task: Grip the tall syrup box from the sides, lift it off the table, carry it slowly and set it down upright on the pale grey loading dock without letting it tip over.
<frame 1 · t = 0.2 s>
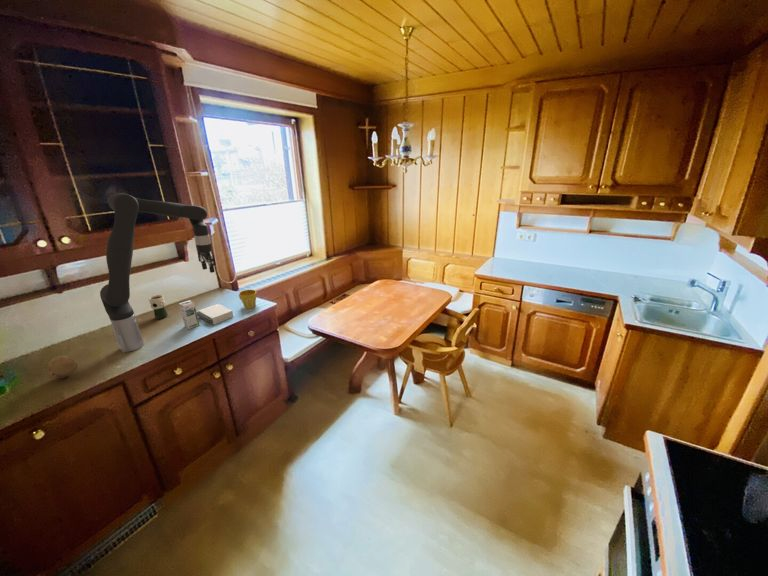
hand: (208, 270, 179), 28 cm above the countertop, fingers open, 8 cm apart
plant pot: (249, 306, 202), on the countertop
character mug: (161, 317, 187), on the countertop
natural sponge: (67, 376, 136), on the countertop
syrup box: (192, 326, 178), on the countertop
dock: (216, 316, 188), on the countertop
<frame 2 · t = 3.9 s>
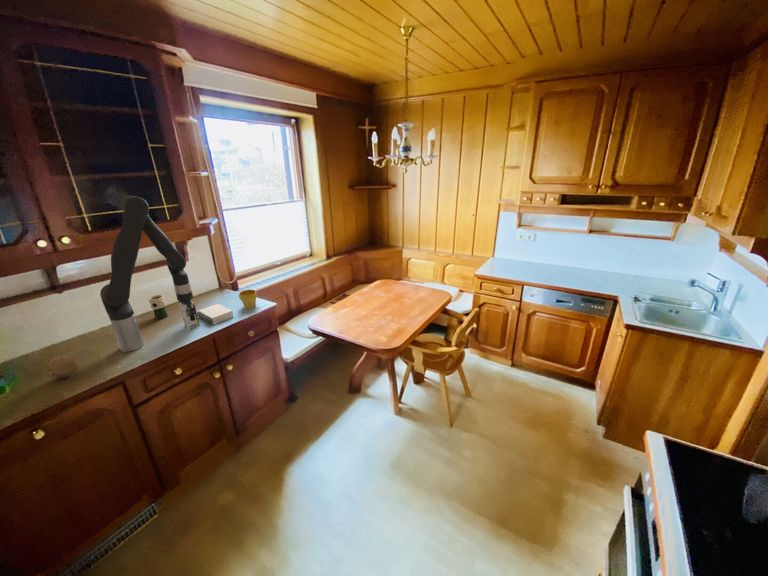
hand: (190, 318, 176), 5 cm above the countertop, fingers closed on syrup box, 6 cm apart
syrup box: (192, 326, 178), on the countertop, touching gripper
everything else where it was.
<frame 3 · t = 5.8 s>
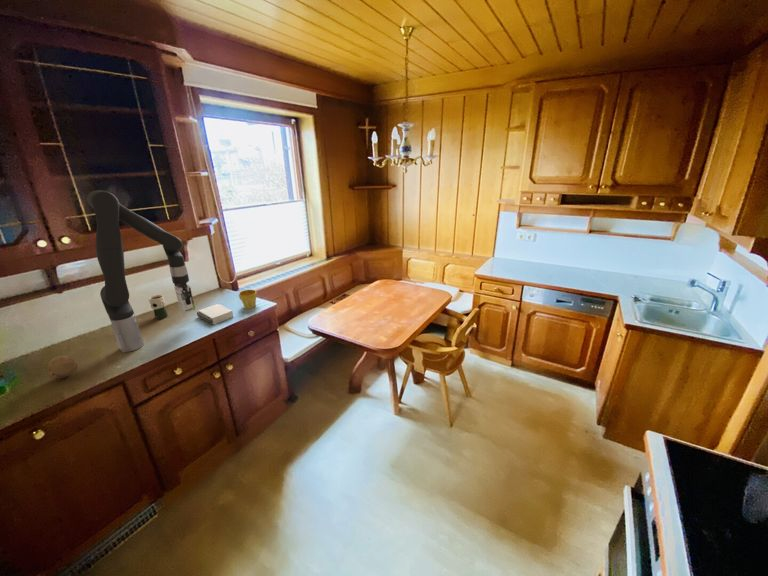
hand: (186, 302, 172), 15 cm above the countertop, fingers closed on syrup box, 6 cm apart
syrup box: (187, 310, 174), point 10 cm above the countertop, touching gripper
everything else where it was.
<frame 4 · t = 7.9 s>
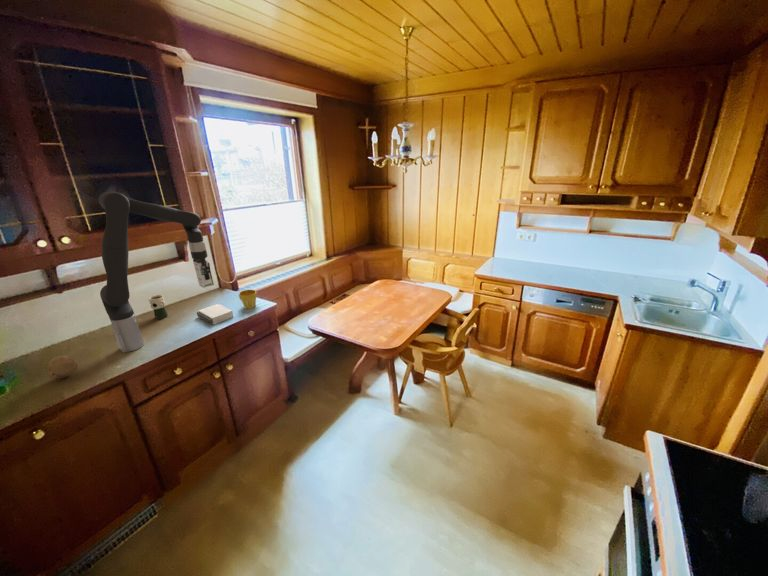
hand: (204, 278, 177), 25 cm above the countertop, fingers closed on syrup box, 6 cm apart
syrup box: (206, 285, 179), point 20 cm above the countertop, touching gripper
everything else where it was.
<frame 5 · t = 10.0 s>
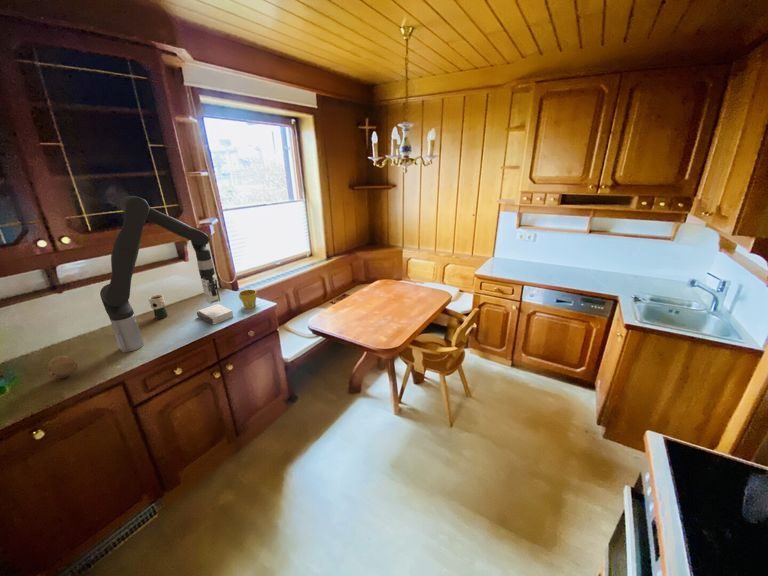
hand: (211, 294, 183), 15 cm above the countertop, fingers closed on syrup box, 6 cm apart
syrup box: (213, 301, 184), point 10 cm above the countertop, touching gripper
everything else where it was.
when the fingers open (10 cm above the countertop, at t = 11.9 s): syrup box drops 1 cm, resting on dock.
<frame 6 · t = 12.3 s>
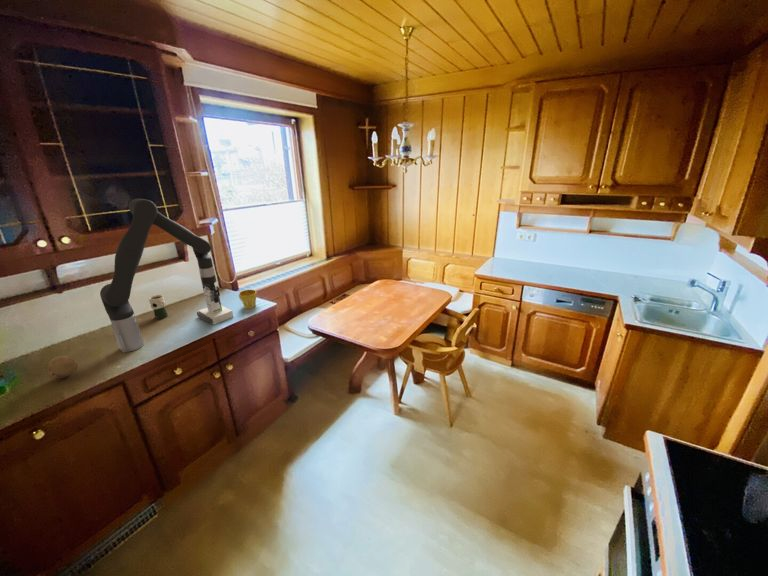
hand: (213, 300, 184), 11 cm above the countertop, fingers open, 8 cm apart
syrup box: (215, 310, 187), point 4 cm above the countertop, touching dock
everything else where it was.
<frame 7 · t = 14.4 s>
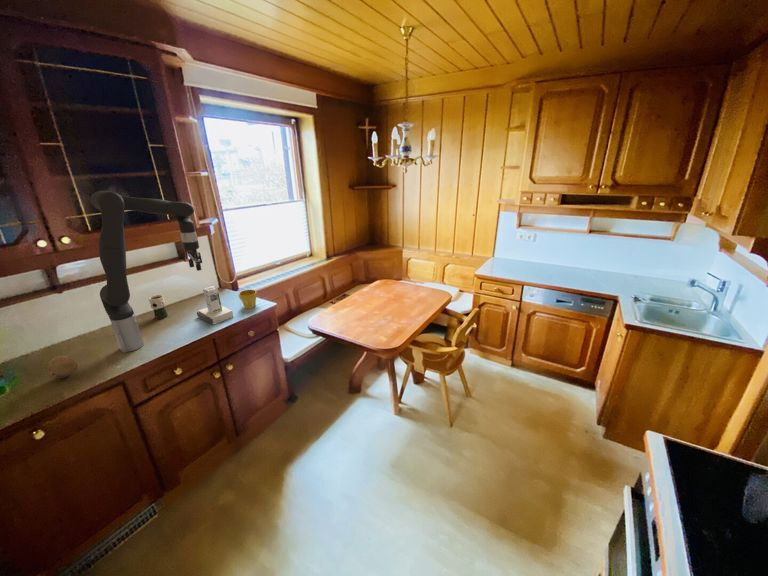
hand: (195, 268, 176), 31 cm above the countertop, fingers open, 8 cm apart
nothing on the countertop moved.
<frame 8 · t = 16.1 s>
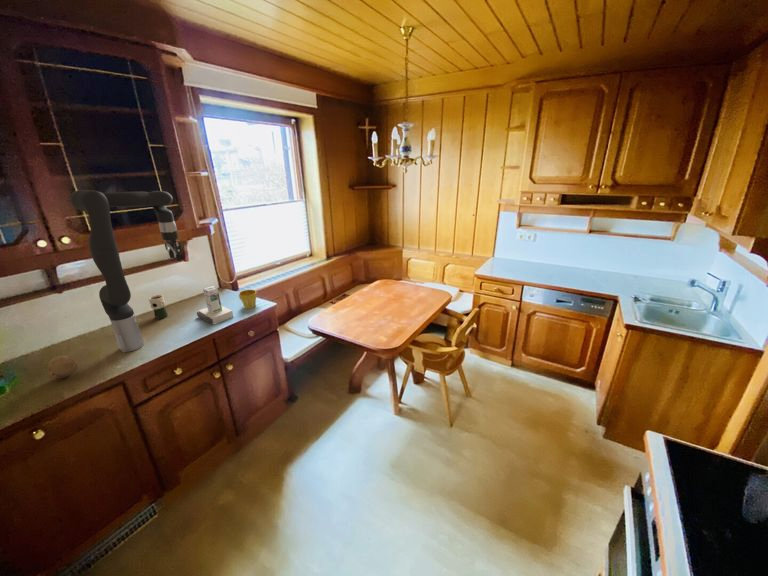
hand: (175, 259, 173), 36 cm above the countertop, fingers open, 8 cm apart
nothing on the countertop moved.
at the end: syrup box inside the target area on the dock (0.1 cm from its centre), point 3.8 cm above the dock's base; syrup box tilted 0°; the gripper is holding nothing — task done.
